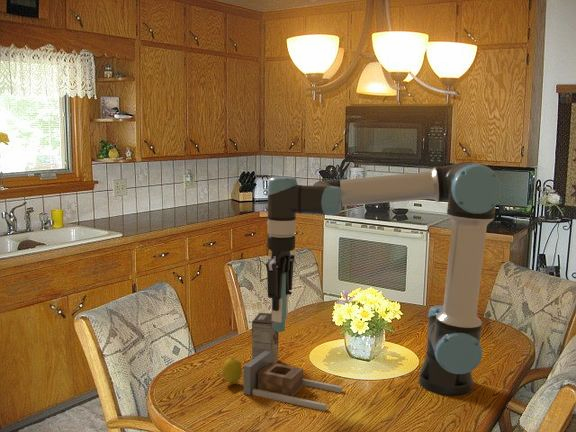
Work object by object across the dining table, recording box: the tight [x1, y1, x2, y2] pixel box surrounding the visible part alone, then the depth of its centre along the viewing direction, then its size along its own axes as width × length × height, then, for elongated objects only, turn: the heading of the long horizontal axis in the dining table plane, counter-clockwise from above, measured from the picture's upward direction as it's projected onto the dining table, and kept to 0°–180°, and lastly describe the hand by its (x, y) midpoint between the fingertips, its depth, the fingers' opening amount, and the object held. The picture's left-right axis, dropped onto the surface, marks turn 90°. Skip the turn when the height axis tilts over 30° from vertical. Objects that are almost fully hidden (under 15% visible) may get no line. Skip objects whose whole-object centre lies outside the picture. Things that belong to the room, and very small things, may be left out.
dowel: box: [274, 272, 286, 333], centre depth 165 cm, size 3×3×16 cm
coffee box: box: [251, 312, 279, 364], centre depth 185 cm, size 9×6×16 cm
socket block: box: [258, 362, 304, 397], centre depth 169 cm, size 10×8×6 cm
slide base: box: [243, 349, 343, 412], centre depth 167 cm, size 25×15×9 cm, turn 65°
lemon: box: [221, 356, 243, 385], centre depth 174 cm, size 6×6×8 cm
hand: (279, 319), depth 166 cm, fingers closed on dowel, 3 cm apart
